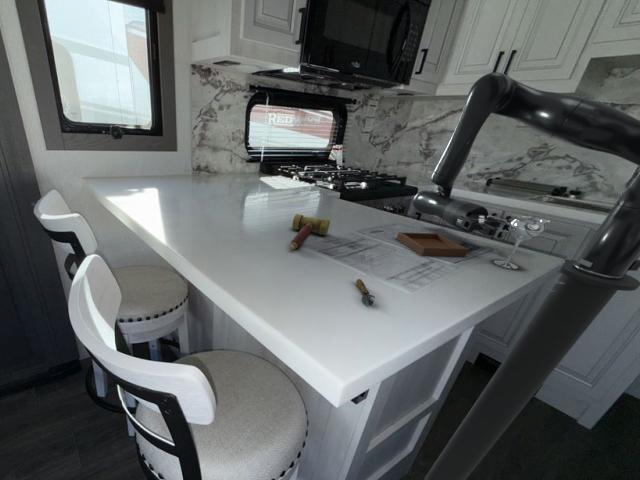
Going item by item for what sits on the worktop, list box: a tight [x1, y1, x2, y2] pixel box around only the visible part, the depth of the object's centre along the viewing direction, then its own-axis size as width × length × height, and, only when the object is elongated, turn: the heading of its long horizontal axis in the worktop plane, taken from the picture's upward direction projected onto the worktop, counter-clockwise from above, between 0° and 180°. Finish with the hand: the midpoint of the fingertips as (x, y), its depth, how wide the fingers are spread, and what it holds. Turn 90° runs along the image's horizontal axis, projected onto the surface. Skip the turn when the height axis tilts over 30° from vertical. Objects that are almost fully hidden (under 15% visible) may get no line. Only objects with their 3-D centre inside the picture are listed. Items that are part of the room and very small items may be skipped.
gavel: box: [290, 213, 331, 250], centre depth 84 cm, size 21×5×10 cm
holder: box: [396, 231, 469, 258], centre depth 86 cm, size 13×13×2 cm
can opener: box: [356, 278, 376, 306], centre depth 59 cm, size 9×2×1 cm, turn 171°
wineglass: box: [493, 213, 551, 270], centre depth 75 cm, size 7×7×12 cm
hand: (509, 233), depth 77 cm, fingers open, 8 cm apart
